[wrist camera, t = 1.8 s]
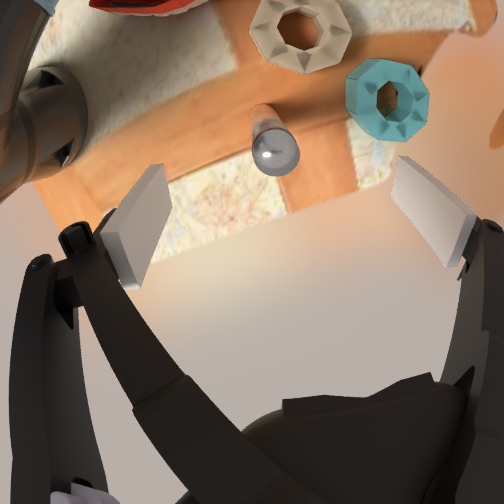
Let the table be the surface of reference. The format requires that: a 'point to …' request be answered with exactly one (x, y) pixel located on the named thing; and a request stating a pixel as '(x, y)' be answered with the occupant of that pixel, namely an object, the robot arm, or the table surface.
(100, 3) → the toy
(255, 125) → the capped vial
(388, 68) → the bead teal
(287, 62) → the bead birch
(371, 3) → the table surface
